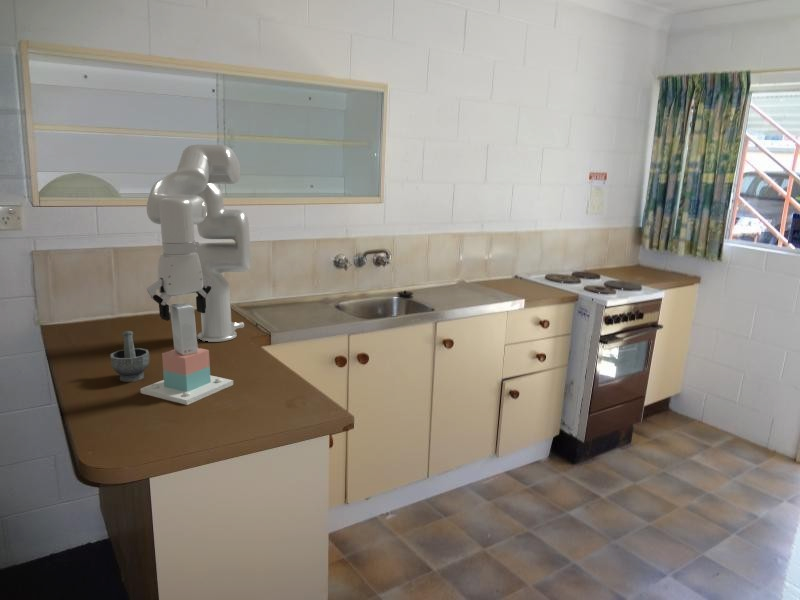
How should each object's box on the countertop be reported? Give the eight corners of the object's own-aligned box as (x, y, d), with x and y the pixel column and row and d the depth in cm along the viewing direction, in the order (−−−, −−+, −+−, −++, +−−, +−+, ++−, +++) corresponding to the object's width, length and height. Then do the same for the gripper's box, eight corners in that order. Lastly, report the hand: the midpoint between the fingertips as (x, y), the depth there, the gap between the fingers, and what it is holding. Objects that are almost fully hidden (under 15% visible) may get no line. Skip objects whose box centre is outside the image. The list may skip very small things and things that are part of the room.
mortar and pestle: (151, 381, 163) (148, 337, 160) (113, 386, 159) (108, 341, 156) (148, 368, 172) (145, 327, 170) (112, 373, 168) (108, 331, 166)
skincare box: (198, 352, 154) (196, 306, 152) (181, 356, 152) (177, 308, 149) (189, 347, 159) (186, 301, 156) (172, 350, 156) (169, 304, 154)
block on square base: (188, 374, 168) (186, 339, 166) (233, 384, 161) (231, 348, 159) (140, 393, 154) (137, 355, 152) (187, 405, 147) (184, 365, 145)
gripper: (202, 243, 158) (206, 307, 162) (137, 250, 146) (143, 319, 150) (218, 246, 153) (222, 312, 158) (152, 254, 141) (158, 325, 145)
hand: (183, 315), depth 154 cm, fingers open, 9 cm apart
